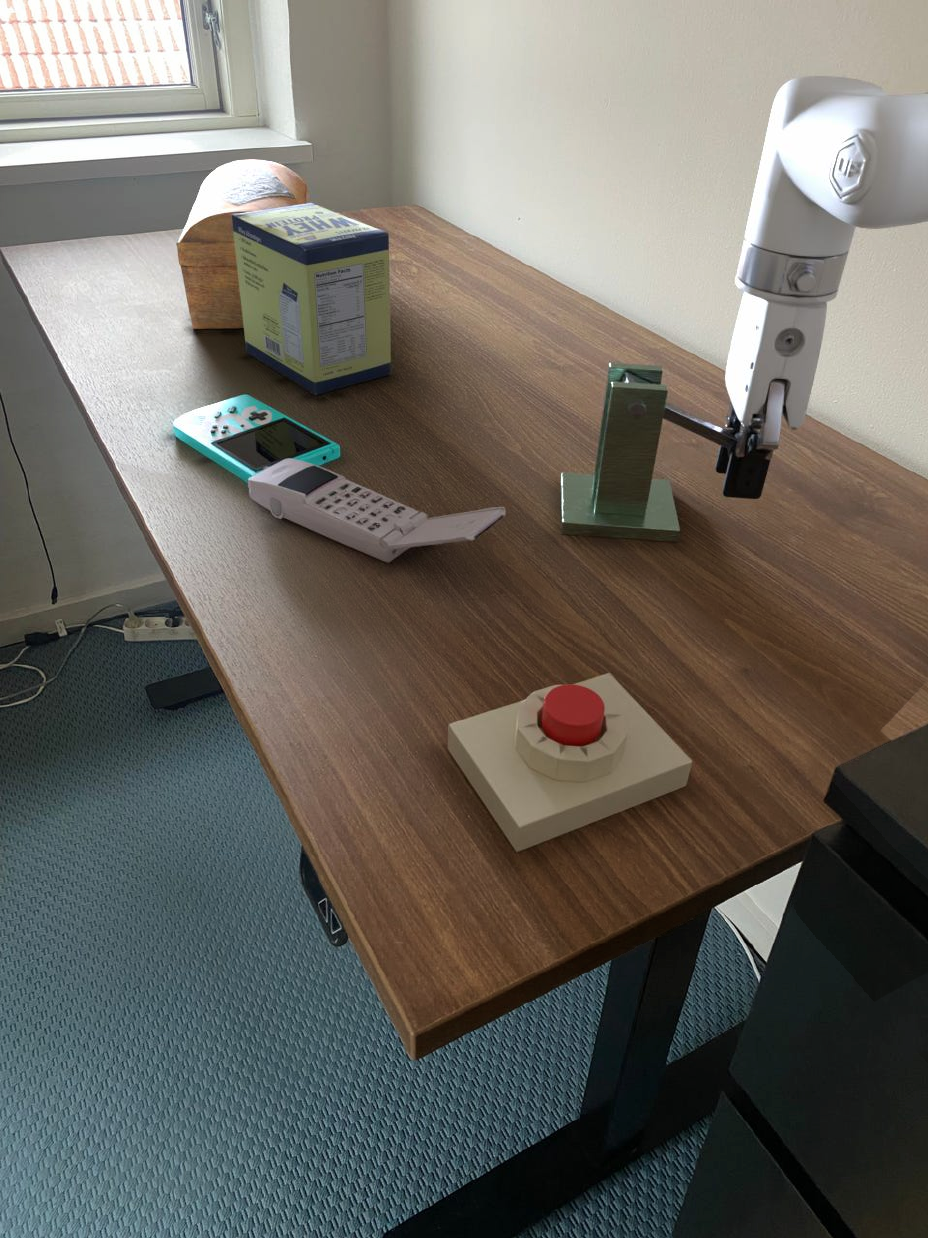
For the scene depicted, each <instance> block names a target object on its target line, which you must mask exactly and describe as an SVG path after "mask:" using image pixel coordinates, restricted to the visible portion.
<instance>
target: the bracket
mask: <svg viewBox="0 0 928 1238" xmlns="http://www.w3.org/2000/svg"><path fill="white" fill-rule="evenodd" d="M663 368H664V367H663V366H662V365H654V364H640V363H623V362H609V363H608V369H607V376H606V385H605V392H604V398H603V407H602V412H601V413H602V414H601V420H600V430H599V436H598V442H597V448H596V449H597V451H596V457H595V464H594V472H593V473H592V474H591V473H579V472H563V471H562V472H561V473H560V474H561V475H560V483H559V485H560V487H559V488H560V533H561V535H571V536H585V537H598V538H599V537H600V538H611V539H612V538H613V539H626V540H641V541H652V542H654V541H655V542H666V543H667V542H668V543H678V542H679V540H680V534H681V528H680V524H679V519H678V513H677V508H676V504H675V500H674V494H673V490H672V484H671V480H670V479H665V478H653V476H654V470H655V464H656V460H657V454H658V447H659V442H660V437H661V432H662V426H663V420H664V419H663V415H664V410H665V404H666V403H667V398H668V393H669V389H668V385H667V384H662V379H663V374H664V369H663ZM626 372H628V373H630V374H632V375H634V376H636V377H638V378H640V379H642V380H644V381H647V382H649V383H651V384H642V383H627V382H621V380H622V379H623V377H624V375H625V373H626Z"/></svg>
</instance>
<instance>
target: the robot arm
mask: <svg viewBox="0 0 928 1238" xmlns="http://www.w3.org/2000/svg"><path fill="white" fill-rule="evenodd" d="M770 111H771V112H770V116H769V120H768V124H767V125H768V126H767V130H766V134H765V139H764V144H763V149H762V154H761V159H760V163H759V169H758V173H757V177H756V182H755V187H754V191H753V194H752V195H753V196H752V200H751V205H750V210H749V214H748V218H747V224H746V229H745V233H744V237H743V242H742V247H741V251H740V256H739V260H738V265H737V270H736V274H735V279H734V284H735V286H736V287H737V288H738V289H739V290H740V291H743V295H742V296H741V303H740V306H739V309H738V312H737V313H738V314H737V317H736V321H735V326H734V330H733V334H732V338H731V342H730V347H729V351H728V357H727V363H726V368H725V377H724V380H725V387H726V391H727V393H728V397H729V399H730V402H729V405H728V410H727V414H726V418H725V428H723V430H726V431H728V432H730V433H732V434H734V435H735V434H737V433H738V432H739V436H738V441H737V446H736V452H731V455H730V459H729V457H728V449H727V448H725V447H723V446H721V445H719V448H718V452H717V456H716V461H715V466H714V468H715V471H716V473H717V474H725V476H724V479H723V480H724V481H723V484H722V489H721V491H722V494H723V497H724V498H733V499H748V500H758V499H760V498H761V496H762V493H763V490H764V486H765V483H766V479H767V475H768V472H769V467H770V465H771V460H772V458H773V455H774V451H776V450H778V449H779V447H780V440H781V439H780V438H781V432H782V430H781V429H782V420H783V417H784V419H785V422H786V424H787V426H788V428H790V429H791V430H792V431H798V430H799V429H800V428H802V426H803V425H804V422H805V419H806V414H807V412H808V406H809V403H810V398H811V394H812V391H813V390H812V389H813V385H814V381H815V377H816V372H817V367H818V363H819V359H820V353H821V349H822V344H823V338H824V332H825V327H826V319H827V311H828V302H831V301H833V300H834V299H835V298H836V297H837V295H838V292H839V287H840V284H841V280H842V276H843V274H844V270H845V266H846V263H847V260H848V256H849V252H850V248H851V245H852V242H853V239H854V234H855V232H856V231H855V230H856V228H861V229H866V230H880V229H881V230H882V229H891V228H898V227H904V226H911V225H917V224H922V223H926V222H927V223H928V92H924V93H912V94H911V93H909V94H891V95H890V94H889V95H887V93H886V91H885V90H884V89H883V88H882V87H881V86H879V85H877V84H876V83H873V82H870V81H866V80H862V79H858V78H857V79H856V78H851V77H844V76H843V77H842V76H831V75H808V76H799V77H795V78H792V79H790V80H788V81H787V82H785V83H784V84H783V85H782V86H781V87H780V88H779V90H778V91H777V93H776V95H775V97H774V100H773V103H772V107H771V110H770ZM750 429H753V430H757V431H759V432H760V433H759V434H758V435H752V436H751V437H750V438H749V439H748V437H749V432H750Z"/></svg>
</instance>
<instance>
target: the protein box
mask: <svg viewBox="0 0 928 1238" xmlns="http://www.w3.org/2000/svg"><path fill="white" fill-rule="evenodd" d="M231 216H232V223H233V233H234V242H235V252H236V261H237V270H238V279H239V288H240V297H241V306H242V316H243V325H244V328H243V331H244V333H243V334H244V341H245V351H246V353H247V354H248V355H250V356H251V357H253V358H255V359H256V360H258V361H259V362H261V363H263V364H264V365H266V366H267V367H269V368H270V369H272V370H274V371H275V372H277V373H278V374H279V375H282V376H284V377H285V378H286V379H288V380H289V381H291V382H293V383H294V384H295V385H298V386H299V387H301V388H302V389H304V390H306V391H307V392H309V393H310V394H312V395H314V396H317V395H321V394H325V393H329V392H332V391H336V390H339V389H342V388H346V387H350V386H353V385H357V384H360V383H364V382H368V381H371V380H375V379H378V378H382V377H385V376H389V375H392V355H391V351H392V350H391V345H392V343H391V290H390V289H391V287H390V283H391V281H390V237H389V235H390V234H389V232H386V231H385V230H382V229H379V228H376V227H374V226H371V225H369V224H366V223H364V222H361V221H358V220H356V219H354V218H353V219H352V218H350V217H347V216H345V215H343V214H340V213H338V212H334V211H332V210H330V209H328V208H325V207H323V206H320V205H318V204H315V203H313V202H309V203H308V204H301V205H294V206H288V207H281V208H274V209H267V210H260V211H253V212H246V213H239V214H232V215H231Z"/></svg>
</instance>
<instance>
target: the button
mask: <svg viewBox="0 0 928 1238" xmlns="http://www.w3.org/2000/svg"><path fill="white" fill-rule="evenodd" d="M560 685H561V686H558V687H555V688H553V689H552V690H550V691H549V692H548V693H547V695H546V696H545V698H544V704H543V712H542V721H541V724H542V728H543V730H544V732H545V734H546V735H547V736H548V737H549V738H550V739H552V740H553V741H555V742H558V743H560V744H562V745H566V746H584V745H588V744H590V743H592V742H593V741H595V740H596V739H597V738H598V737H599V735H600V733H601V728H602V723H603V717H604V711H605V706H604V703H603V700H602V699H601V697H600V696H599V695H598V694H597V693H595V692H594V691H593V690H591V689H589V688H586V687H583V686H580V685H573V684H560Z"/></svg>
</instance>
